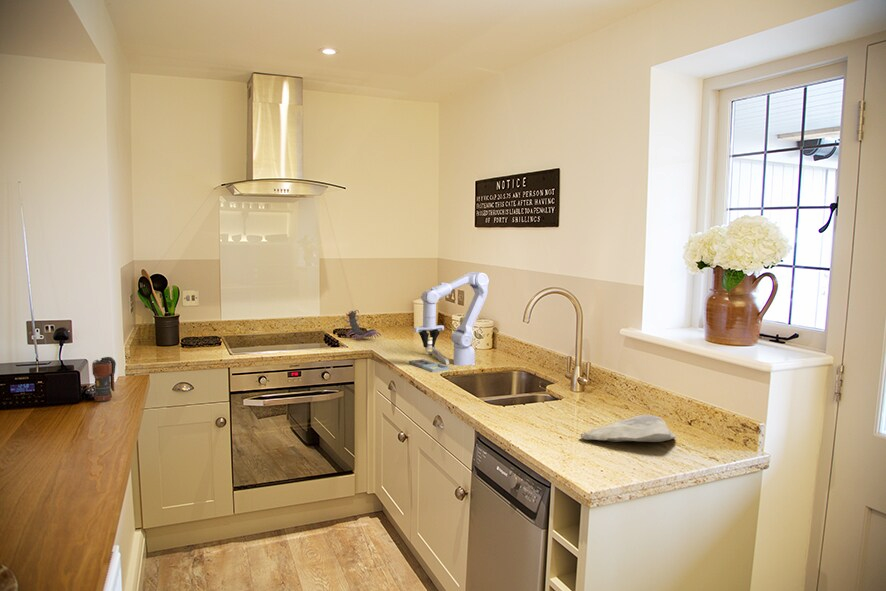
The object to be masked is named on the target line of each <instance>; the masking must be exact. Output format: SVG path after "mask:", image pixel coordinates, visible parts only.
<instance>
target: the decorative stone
mask: <svg viewBox="0 0 886 591" xmlns="http://www.w3.org/2000/svg"><path fill="white" fill-rule="evenodd" d="M579 436H580V438H581V439H583V440H587V441H591V440H595V441H596V440H597V441H607V442H610V443H618V442H619V443H620V442H646V443H661V442H665V441H670V440H674V439H676V438H677V436H676V434H675V433H673V432H672V430H670V429H669V427H668V425H667V423H666V422H665V420H664V419H663V418H662V417H661V416H657V415H653V414H638V415H635V416H633V417H630V418H625V419H624V418H623V419H620V420H617V421H614V422H613V423H611V424H609V425H605V426H598V427H596V428H592V429H590V430H589V431H588V432H586V433H585V432H584V433H580V435H579Z"/></svg>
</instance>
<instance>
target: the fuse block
mask: <svg viewBox="0 0 886 591" xmlns="http://www.w3.org/2000/svg"><path fill="white" fill-rule="evenodd" d="M408 364H409V365H412V366H415V367H416V368H419V369H423V368H422V365H428V364H436V363H435V362H433V361H430V360H427V359H425V358H424V359H423V358H422V359H421V358H420V359H413V360H408Z"/></svg>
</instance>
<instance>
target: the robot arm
mask: <svg viewBox="0 0 886 591" xmlns="http://www.w3.org/2000/svg"><path fill="white" fill-rule="evenodd" d="M489 284H490V279H489V277H488V275H487V274H486V273H484V272H478V271H470V272H468V273H465V274H463V275H461V276H460V277H458V278H455V279H454V280H453V281H450V282H449V283H447V282H444V281H443V282H440V283H439V284H438V285H436V286H432V287H430V289H426V290H424V291H423V292H422V293H421V296H420V298H421V300H422V309H423V310H422V326H416V327H413V332H415V333H418V335H419V336H420V338H421V341H422V345H423V348H427V346H428V337H433V340H432V347H434V346H435V345H436V341H437V338H438V337H439V335H440V331H444V330H445V326H444V325H442V324H439V325H437V322H436V321H437V303H438V302H439V300H441V299H443V298H444V297H447V296H448V295H450V294H452V291H453V290H455V289H457V288H460V287H462V286H465V285H469V286H470V287H471V288H472V290H473V292H474V294H473V297H472V300H471V302H470V304H469V306H468V308H467V311H466V313H465V316H464V318H463V319H462V322H461V324H460V325H459V326H457V327H456V330H455V331H453V333H452V335H451V341H452V342H453V359H452V360H453V365H455V366H461V367H465V366H473V365H475V366H476V364H475V361H476V360H475V357H476V353H475V352H476V351H475V349H474V347H473V346H472V344H473V336H474V331H473V328H474V326H475V323H476V322H477V320H478V317H479V315H480V312H481V310H482V308H483V306H484V304H485V301H486V299H487V296H488V294H489V293H488V290H489Z"/></svg>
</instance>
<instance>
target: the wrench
mask: <svg viewBox="0 0 886 591" xmlns="http://www.w3.org/2000/svg"><path fill="white" fill-rule="evenodd" d="M427 353H428V355H429V356H430V355H431V356H432V355H433V356H434V357H435V358H436V359H437V360H438V361H439V363H440V362H441V363H443V365H445V366H449V365H450V360H449V359H448V358H447V357H446V356H444V355H443V354H442V353H441V352H440V351H439V350H438V349H437V348H436V346H435V345H434V347H432V352H427Z"/></svg>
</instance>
